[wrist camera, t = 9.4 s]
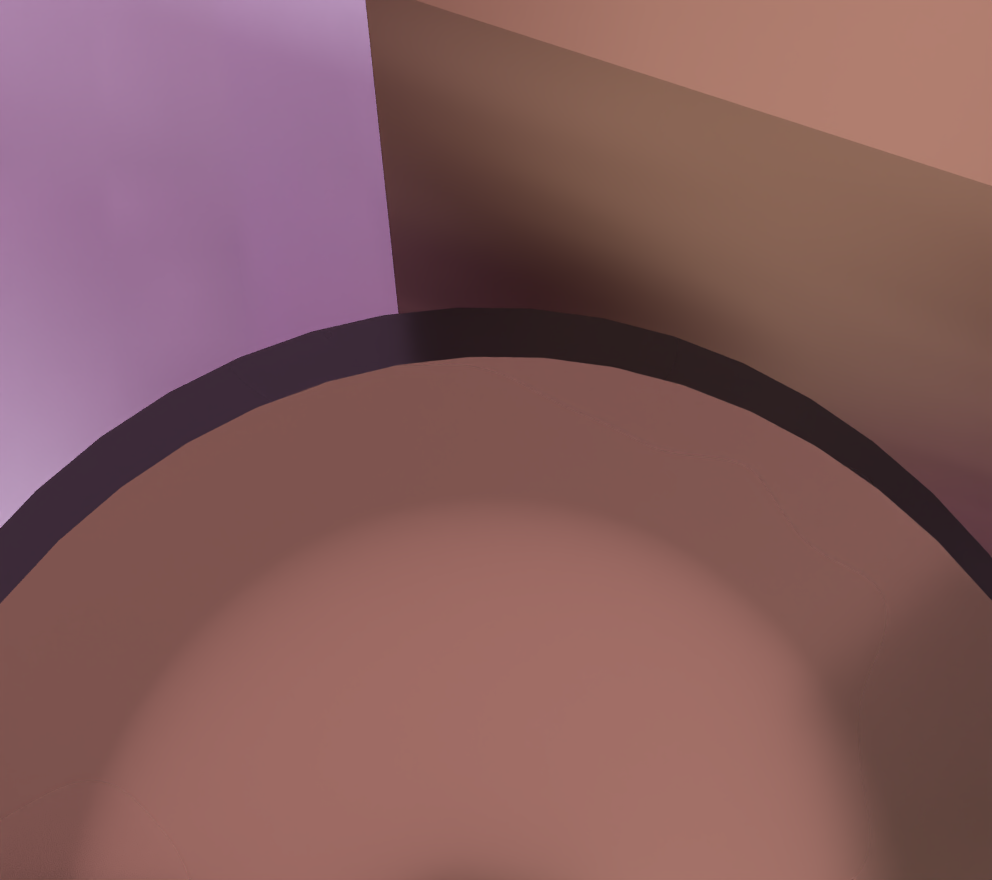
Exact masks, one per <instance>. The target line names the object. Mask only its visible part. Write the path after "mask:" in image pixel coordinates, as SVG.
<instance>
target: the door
mask: <svg viewBox="0 0 992 880" xmlns="http://www.w3.org/2000/svg"><path fill="white" fill-rule="evenodd" d="M366 9H367V19H368V28H369V38H370V47H371V57H372V66H373V76H374V85H375V95H376V104H377V113H378V123H379V132H380V142H381V151H382V161H383V170H384V180H385V189H386V199H387V208H388V218H389V227H390V236H391V246H392V255H393V265H394V274H395V284H396V293H397V303H398V312H399V314H401V313H411V312H420V311H430V310H439V309H448V308H530V309H538V310H546V311H553V312H561V313H568V314H576V315H583V316H591V317H598V318H604V319H608V320H612V321H616V322H620V323H624V324H628V325H632V326H636V327H639V328H643V329H647V330H651V331H655V332H659V333H663V334H667V335H671V336H674V337H677V338H680V339H682V340H685V341H687V342H690V343H693V344H695V345H698V346H700V347H703V348H705V349H708V350H711V351H713V352H716V353H718V354H721V355H724V356H726V357H729V358H731V359H734V360H737V361H739V362H742V363H744V364H746V365H748V366H750V367H752V368H754V369H755V370H757V371H759V372H761V373H763V374H765V375H767V376H769V377H771V378H772V379H774V380H776V381H778V382H780V383H782V384H784V385H786V386H788V387H790V388H791V389H793V390H795V391H797V392H799V393H801V394H803V395H805V396H807V397H809V398H810V399H812V400H813V401H815V402H816V403H818V404H819V405H821V406H822V407H823V408H825V409H826V410H828V411H829V412H831V413H832V414H834V415H835V416H837V417H838V418H840V419H841V420H842V421H844V422H845V423H847V424H848V425H850V426H851V427H853V428H854V429H856V430H857V431H859V432H860V433H861V434H863V435H864V436H866V437H867V438H869V439H870V440H872V441H873V442H874V443H875V444H877V445H878V446H879V447H880V448H881V449H882V450H884V451H885V452H886V453H887V454H888V455H889V456H891V457H892V458H893V459H894V460H895V461H896V462H897V463H899V464H900V465H901V466H902V467H903V468H904V469H906V470H907V471H908V472H909V473H910V474H911V475H912V476H914V477H915V478H916V479H917V480H918V481H919V482H921V483H922V484H923V485H924V486H925V487H926V488H927V489H929V490H930V491H931V492H932V493H933V494H934V495H935V496H936V497H937V498H938V499H939V500H940V501H941V502H942V504H943V505H944V506H945V507H946V508H947V509H948V510H949V511H950V512H951V513H952V514H953V515H954V517H955V518H956V519H957V520H958V521H959V522H960V523H961V524H962V525H963V526H964V527H965V528H966V530H967V531H968V532H969V533H970V534H971V535H972V536H973V537H974V538H975V539H976V540H977V541H978V543H979V544H980V545H981V546H982V547H983V548H984V549H985V550H986V551H987V552H988V553H989V555H990V556H991V558H992V0H366Z"/></svg>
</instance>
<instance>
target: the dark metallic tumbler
mask: <svg viewBox="0 0 992 880" xmlns="http://www.w3.org/2000/svg"><path fill="white" fill-rule="evenodd" d="M0 880H992V558H991V556H990V555H989V553H988V552H987V551H986V550H985V549H984V548H983V547H982V546H981V545H980V544H979V543H978V541H977V540H976V539H975V538H974V537H973V536H972V535H971V534H970V533H969V532H968V531H967V530H966V528H965V527H964V526H963V525H962V524H961V523H960V522H959V521H958V520H957V519H956V518H955V517H954V515H953V514H952V513H951V512H950V511H949V510H948V509H947V508H946V507H945V506H944V505H943V504H942V502H941V501H940V500H939V499H938V498H937V497H936V496H935V495H934V494H933V493H932V492H931V491H930V490H929V489H927V488H926V487H925V486H924V485H923V484H922V483H921V482H919V481H918V480H917V479H916V478H915V477H914V476H912V475H911V474H910V473H909V472H908V471H907V470H906V469H904V468H903V467H902V466H901V465H900V464H899V463H897V462H896V461H895V460H894V459H893V458H892V457H891V456H889V455H888V454H887V453H886V452H885V451H884V450H882V449H881V448H880V447H879V446H878V445H877V444H875V443H874V442H873V441H872V440H870V439H869V438H867V437H866V436H864V435H863V434H861V433H860V432H859V431H857V430H856V429H854V428H853V427H851V426H850V425H848V424H847V423H845V422H844V421H842V420H841V419H840V418H838V417H837V416H835V415H834V414H832V413H831V412H829V411H828V410H826V409H825V408H823V407H822V406H821V405H819V404H818V403H816V402H815V401H813V400H812V399H810V398H809V397H807V396H805V395H803V394H801V393H799V392H797V391H795V390H793V389H791V388H790V387H788V386H786V385H784V384H782V383H780V382H778V381H776V380H774V379H772V378H771V377H769V376H767V375H765V374H763V373H761V372H759V371H757V370H755V369H754V368H752V367H750V366H748V365H746V364H744V363H742V362H739V361H737V360H734V359H731V358H729V357H726V356H724V355H721V354H718V353H716V352H713V351H711V350H708V349H705V348H703V347H700V346H698V345H695V344H693V343H690V342H687V341H685V340H682V339H680V338H677V337H674V336H671V335H667V334H663V333H659V332H655V331H651V330H647V329H643V328H639V327H636V326H632V325H628V324H624V323H620V322H616V321H612V320H608V319H604V318H598V317H591V316H583V315H576V314H568V313H561V312H553V311H546V310H538V309H530V308H448V309H439V310H430V311H420V312H411V313H401V314H392V315H383V316H379V317H375V318H370V319H366V320H362V321H357V322H353V323H348V324H344V325H340V326H335V327H331V328H327V329H322V330H318V331H313V332H310V333H307V334H304V335H301V336H299V337H296V338H293V339H290V340H287V341H285V342H282V343H279V344H276V345H273V346H271V347H268V348H265V349H262V350H260V351H257V352H254V353H251V354H248V355H246V356H243V357H240V358H238V359H236V360H234V361H232V362H230V363H228V364H226V365H224V366H222V367H220V368H218V369H216V370H214V371H212V372H210V373H208V374H205V375H203V376H201V377H199V378H197V379H195V380H193V381H191V382H189V383H187V384H185V385H183V386H181V387H179V388H177V389H175V390H173V391H171V392H169V393H168V394H166V395H165V396H163V397H161V398H160V399H158V400H157V401H155V402H154V403H152V404H151V405H149V406H148V407H146V408H145V409H143V410H142V411H140V412H138V413H137V414H135V415H134V416H132V417H131V418H129V419H128V420H126V421H125V422H123V423H122V424H120V425H119V426H117V427H116V428H114V429H112V430H111V431H109V432H108V433H106V434H105V435H103V436H102V437H100V438H99V439H98V440H97V441H96V442H94V443H93V444H92V445H91V446H89V447H88V448H87V449H86V450H85V451H83V452H82V453H81V454H80V455H79V456H77V457H76V458H75V459H74V460H73V461H71V462H70V463H69V464H68V465H67V466H65V467H64V468H63V469H62V470H61V471H59V472H58V473H57V474H56V475H55V476H53V477H52V478H51V479H50V480H49V481H47V482H46V483H45V484H44V485H43V486H41V487H40V488H39V489H38V490H37V491H36V492H35V493H34V494H33V495H32V496H31V497H30V498H29V499H28V500H27V501H26V502H25V503H24V504H23V505H22V506H21V507H20V508H19V509H18V510H17V512H16V513H15V514H14V515H13V516H12V517H11V518H10V519H9V520H8V521H7V522H6V523H5V524H4V525H3V526H2V527H1V528H0Z"/></svg>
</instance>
